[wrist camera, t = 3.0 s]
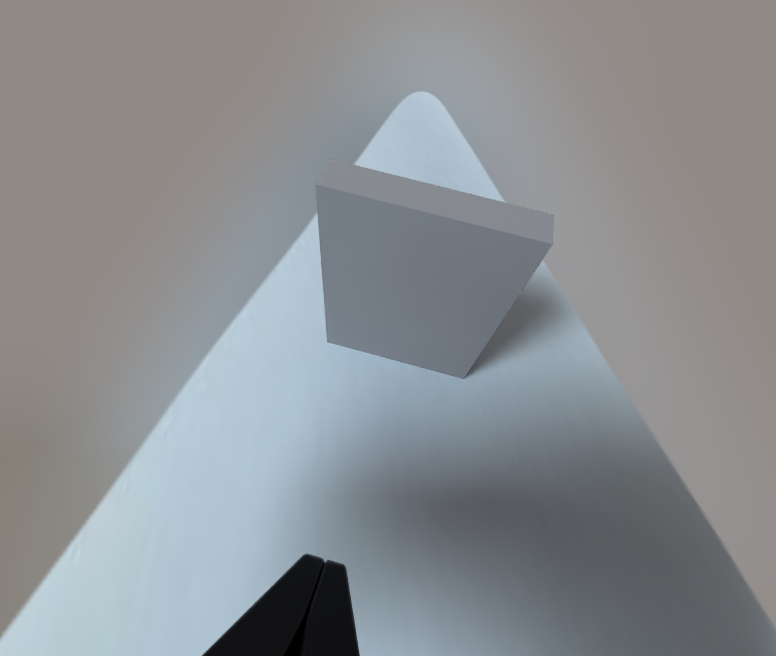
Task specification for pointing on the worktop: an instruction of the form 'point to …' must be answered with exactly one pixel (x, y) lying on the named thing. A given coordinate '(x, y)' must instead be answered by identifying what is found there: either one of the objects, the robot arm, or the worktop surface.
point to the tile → (420, 265)
